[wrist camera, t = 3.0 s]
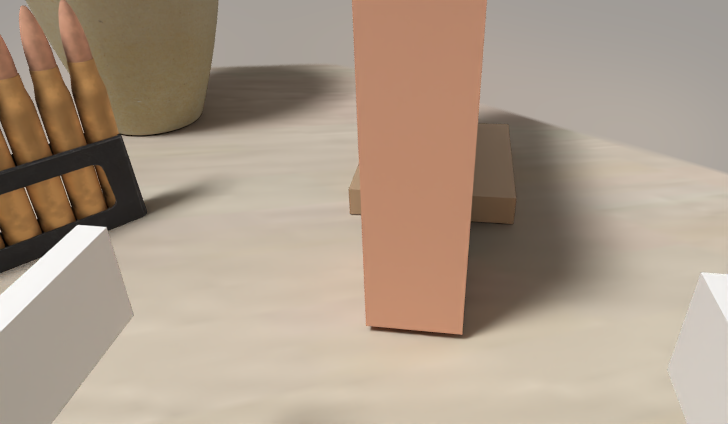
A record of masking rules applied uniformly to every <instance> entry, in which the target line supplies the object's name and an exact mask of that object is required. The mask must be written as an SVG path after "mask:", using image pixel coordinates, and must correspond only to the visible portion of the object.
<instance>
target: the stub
mask: <svg viewBox="0 0 728 424" xmlns="http://www.w3.org/2000/svg"><path fill="white" fill-rule="evenodd" d="M486 6H487V0H352V10H353V32H354V56H355V80H356V103H357V126H358V149H359V172H360V196H361V219H362V242H363V265H364V288H365V311H366V326H375V327H386V328H397V329H408V330H418V331H429V332H440V333H451V334H461V335H462V330H463V317H464V303H465V290H466V276H467V263H468V249H469V236H470V222H471V209H472V195H473V182H474V168H475V155H476V141H477V127H478V114H479V100H480V87H481V86H480V85H481V73H482V60H483V46H484V32H485V19H486Z"/></svg>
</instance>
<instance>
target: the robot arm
mask: <svg viewBox="0 0 728 424" xmlns="http://www.w3.org/2000/svg"><path fill="white" fill-rule="evenodd" d="M133 316H134V314H133V311H132V307H131V304H130V301H129V298H128V294H127V291H126V288H125V285H124V282H123V278H122V275H121V272H120V269H119V265H118V262H117V259H116V256H115V253H114V249H113V246H112V243H111V240H110V236H109V233H108V230H107V227H99V226H86V225H77V226H76V227H75V228H74V229H72V230H71V231H70V232H69V233H68V234H67V235H66V236H65V237H64V238H63V239H61V240H60V241H59V242H58V243H57V244H56V245H55V246H54V247H53V248H52V249H50V250H49V251H48V252H47V253H46V254H45V255H44V256H43V257H42V258H41V259H39V260H38V261H37V262H36V263H35V264H34V265H33V266H32V267H31V268H30V269H28V270H27V271H26V272H25V273H24V274H23V275H22V276H21V277H20V278H18V279H17V280H16V281H15V282H14V283H13V284H12V285H11V286H10V287H9V288H7V289H6V290H5V291H4V292H3V293H2V294H1V295H0V424H52V422H53V421H54V420H55V418H56V417H57V416H58V414H59V413H60V412H61V411H62V409H63V408H64V407H65V405H66V404H67V403H68V401H69V400H70V399H71V397H72V396H73V395H74V393H75V392H76V391H77V389H78V388H79V387H80V385H81V384H82V383H83V382H84V380H85V379H86V378H87V376H88V375H89V374H90V372H91V371H92V370H93V368H94V367H95V366H96V364H97V363H98V362H99V360H100V359H101V358H102V356H103V355H104V354H105V353H106V351H107V350H108V349H109V347H110V346H111V345H112V343H113V342H114V341H115V339H116V338H117V337H118V335H119V334H120V333H121V331H122V330H123V329H124V328H125V326H126V325H127V324H128V322H129V321H130V320H131V318H132V317H133ZM667 371H668V373H669V376H670V379H671V382H672V384H673V387H674V390H675V393H676V395H677V398H678V401H679V403H680V406H681V409H682V412H683V414H684V417H685V420H686V423H687V424H728V274H716V273H703V272H701V273H700V276H699V279H698V282H697V285H696V288H695V291H694V294H693V296H692V299H691V302H690V305H689V308H688V311H687V314H686V316H685V319H684V322H683V325H682V328H681V331H680V334H679V337H678V339H677V342H676V345H675V348H674V351H673V354H672V357H671V360H670V362H669V365H668V368H667Z"/></svg>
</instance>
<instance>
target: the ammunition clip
mask: <svg viewBox="0 0 728 424" xmlns="http://www.w3.org/2000/svg"><path fill="white" fill-rule="evenodd" d="M58 14H59V28H60V35H61V40H62V45H63V49H64V52H65V56H66V59H67V65H68V69H69V73H70V78H71V89H72V94H73V97H74V101H75V104H76V107H77V110H78V114H79V117H80V120H81V124H82V127H83V130H84V133H83V131H82V128H81V124H80V121H79V118H78V115H77V112H76V109H75V106H74V103H73V99H72V97H71V94H70V92H69V90H68V89H67V87H66V85H65V83H64V81H63V79H62V77H61V74H60V71H59V68H58V66H57V64H56V62H55V59H54V56H53V53H52V50H51V47H50V45H49V43H48V40H47V38H46V36H45V34H44V32H43V30H42V28H41V26H40V25H39V23H38V21H37V20H36V18H35V17H34V15H33V14H32V13H31V11H30V10H29V9H28V8H27V7H26V6H21V7H20V13H19V24H20V35H21V40H22V45H23V49H24V53H25V56H26V60H27V62H28V66H29V71H30V75H31V78H32V81H33V85H34V93H35V100H36V104H37V107H38V110H39V113H40V115H41V118H42V121H43V124H44V127H45V130H46V133H47V136H48V139H49V142H50V143H49V144H48V142H47V139H46V136H45V134H44V131H43V128H42V125H41V122H40V119H39V117H38V114H37V111H36V109H35V106H34V103H33V101H32V100H31V98H30V96H29V95H28V93H27V91H26V90H25V88H24V85H23V83H22V81H21V78H20V75H19V73H17V70H16V67H15V64H14V62H13V59H12V57H11V54H10V52H9V50H8V48H7V46H6V44H5V42H4V40H3V38H2V37H1V35H0V121H1V124H2V127H3V129H4V132H5V134H6V137H7V140H8V142H9V145H10V147H11V150H12V153H13V154H12V155H11V154H10V151H9V149H8V146H7V144H6V141H5V139H4V136H3V134H2V131H1V129H0V230H1V232H0V273H2V272H4V271H7V270H9V269H12V268H15V267H17V266H20V265H22V264H25V263H27V262H30V261H32V260H35V259H37V258H40V257H42V256H44V255H45V254H46V253H47V252H48V251H49V250H50V249H52V248H53V247H54V246H55V245H56V244H57V243H58V242H59V241H60V240H61V239H63V238H64V237H65V236H66V235H67V234H68V233H69V232H70V231H71V230H72V229H74V228H75V227H76V226H77V225H86V226H99V227H107V230H111V229H113V228H116V227H118V226H121V225H123V224H126V223H128V222H131V221H133V220H136V219H138V218H141V217H143V216H145V215H146V213H147V210H146V207H145V204H144V201H143V198H142V195H141V192H140V189H139V186H138V183H137V180H136V177H135V174H134V171H133V168H132V165H131V162H130V159H129V156H128V153H127V150H126V147H125V144H124V142H123V139H122V136H121V135H120V134H119V132H118V128H117V124H116V121H115V117H114V114H113V110H112V107H111V103H110V100H109V96H108V93H107V89H106V87H105V84H104V82H103V80H102V78H101V76H100V74H99V72H98V69H97V66H96V63H95V60H94V58H93V56H92V53H91V50H90V46H89V43H88V40H87V38H86V35H85V33H84V30H83V28H82V26H81V24H80V22H79V20H78V18H77V16H76V14H75V13H74V11H73V9H72V8H71V6H70V5H69V4H68V3H67V1H66V0H60V3H59V12H58ZM94 167H95V168H94ZM95 169H96V171H95ZM96 173H97V174H96ZM60 175H61V177H62V180H63V183H64V186H65V189H66V191H67V194H68V197H69V200H70V203H71V206H72V207H71V206H70V203H69V200H68V198H67V195H66V192H65V189H64V186H63V184H62V181H61V178H60ZM97 176H98V178H97ZM98 179H99V181H98ZM99 183H100V184H99ZM100 186H101V187H100ZM24 187H26V189H27V192H28V195H29V197H30V200H31V203H32V205H33V208H34V210H35V213H36V216H37V218H38V219H36V216H35V214H34V211H33V209H32V206H31V204H30V201H29V199H28V196H27V194H26V191H25V189H24ZM101 189H102V190H101ZM102 192H103V193H102Z"/></svg>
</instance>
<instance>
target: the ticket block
mask: <svg viewBox="0 0 728 424" xmlns="http://www.w3.org/2000/svg"><path fill="white" fill-rule="evenodd" d="M349 203H350V214H360V215H361V196H360V172H359V165H358V167H357V170H356V172H355V175H354V177H353V180H352V182H351V185H350V187H349ZM515 205H516V190H515V181H514V172H513V162H512V153H511V143H510V134H509V125H508V124H487V123H478V127H477V141H476V155H475V168H474V182H473V195H472V209H471V221H474V222H490V223H506V224H513V222H514V214H515Z"/></svg>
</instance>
